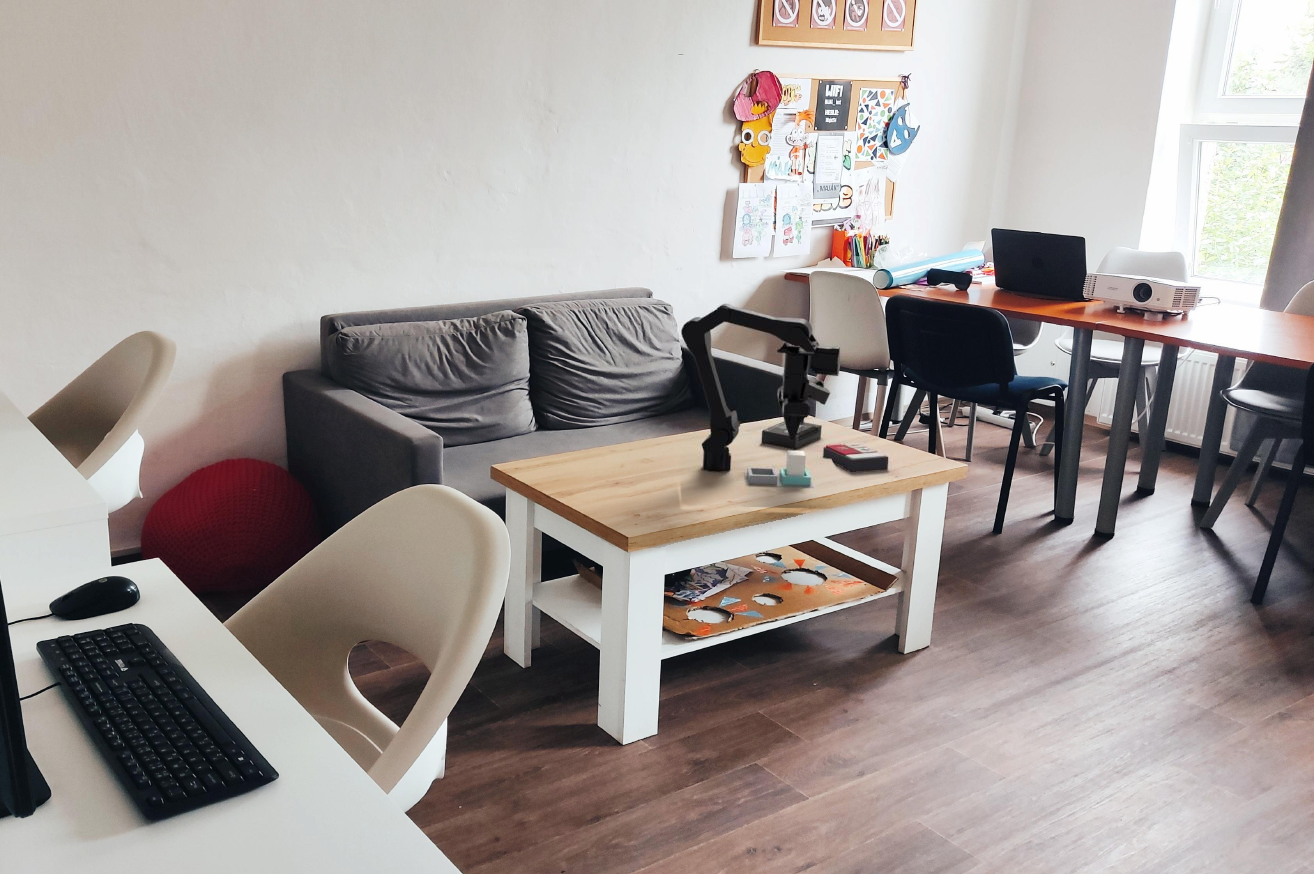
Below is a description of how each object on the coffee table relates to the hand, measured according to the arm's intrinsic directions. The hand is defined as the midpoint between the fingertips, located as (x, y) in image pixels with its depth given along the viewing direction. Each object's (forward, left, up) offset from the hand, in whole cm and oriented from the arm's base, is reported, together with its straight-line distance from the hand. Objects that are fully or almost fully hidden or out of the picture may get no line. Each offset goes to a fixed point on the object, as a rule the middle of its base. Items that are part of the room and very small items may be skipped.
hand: (790, 434), depth 266 cm
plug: (+1, -3, -11) cm, 11 cm away
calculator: (+20, +17, -12) cm, 29 cm away
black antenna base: (+6, +39, -12) cm, 41 cm away
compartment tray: (-3, -3, -12) cm, 13 cm away
